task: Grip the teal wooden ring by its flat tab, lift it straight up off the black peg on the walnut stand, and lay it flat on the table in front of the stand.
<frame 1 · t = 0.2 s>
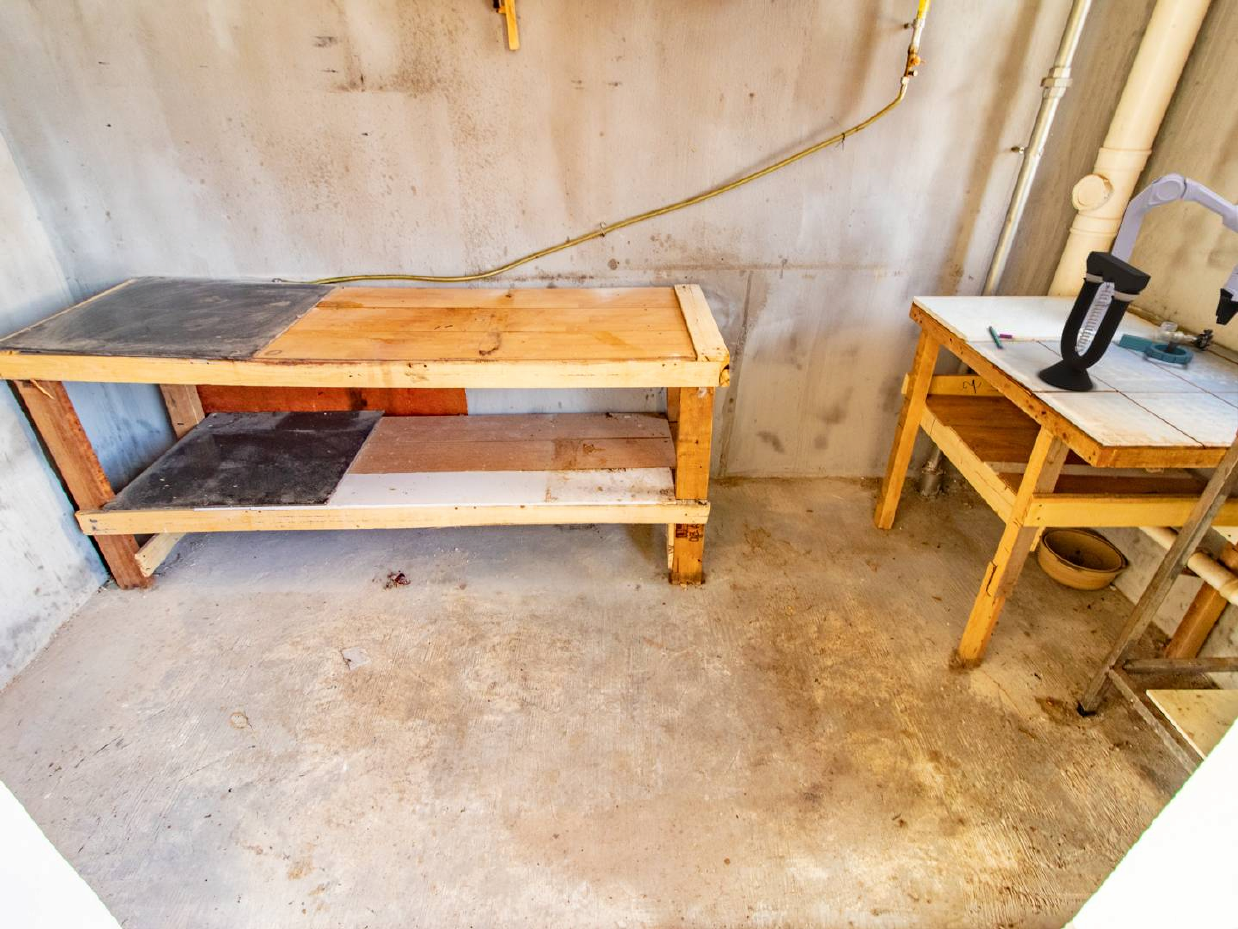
hand: (1220, 320, 178), 10 cm above the table, tool pointing down, fingers open, 7 cm apart
valve: (1175, 348, 187), on the table
ring stand: (1165, 359, 180), on the table
ring: (1167, 355, 179), point 1 cm above the table, touching ring stand
squeegee: (1003, 339, 190), on the table
spring support: (1063, 378, 168), on the table
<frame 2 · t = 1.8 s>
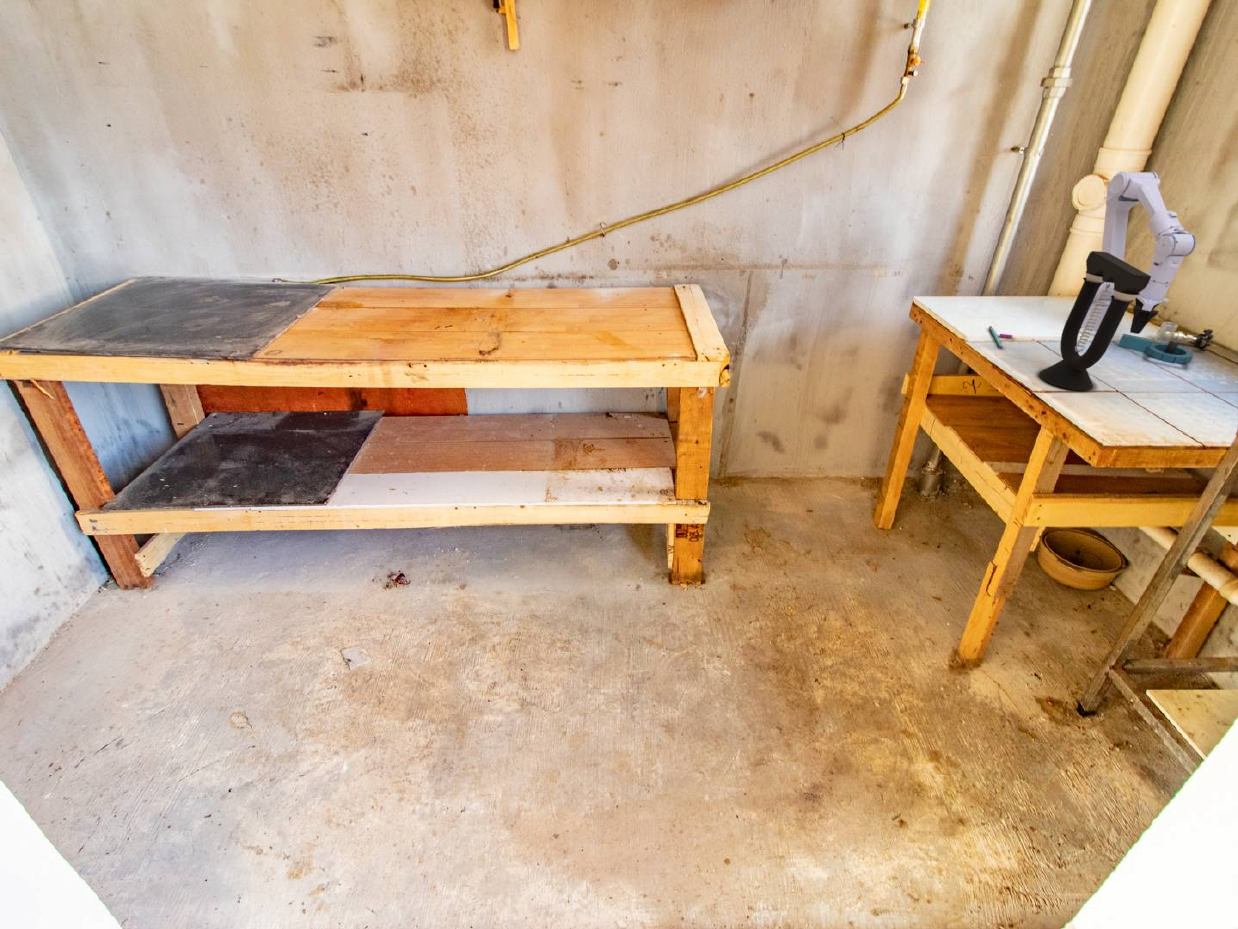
hand: (1135, 328, 181), 7 cm above the table, tool pointing down, fingers open, 7 cm apart
nothing on the table moved.
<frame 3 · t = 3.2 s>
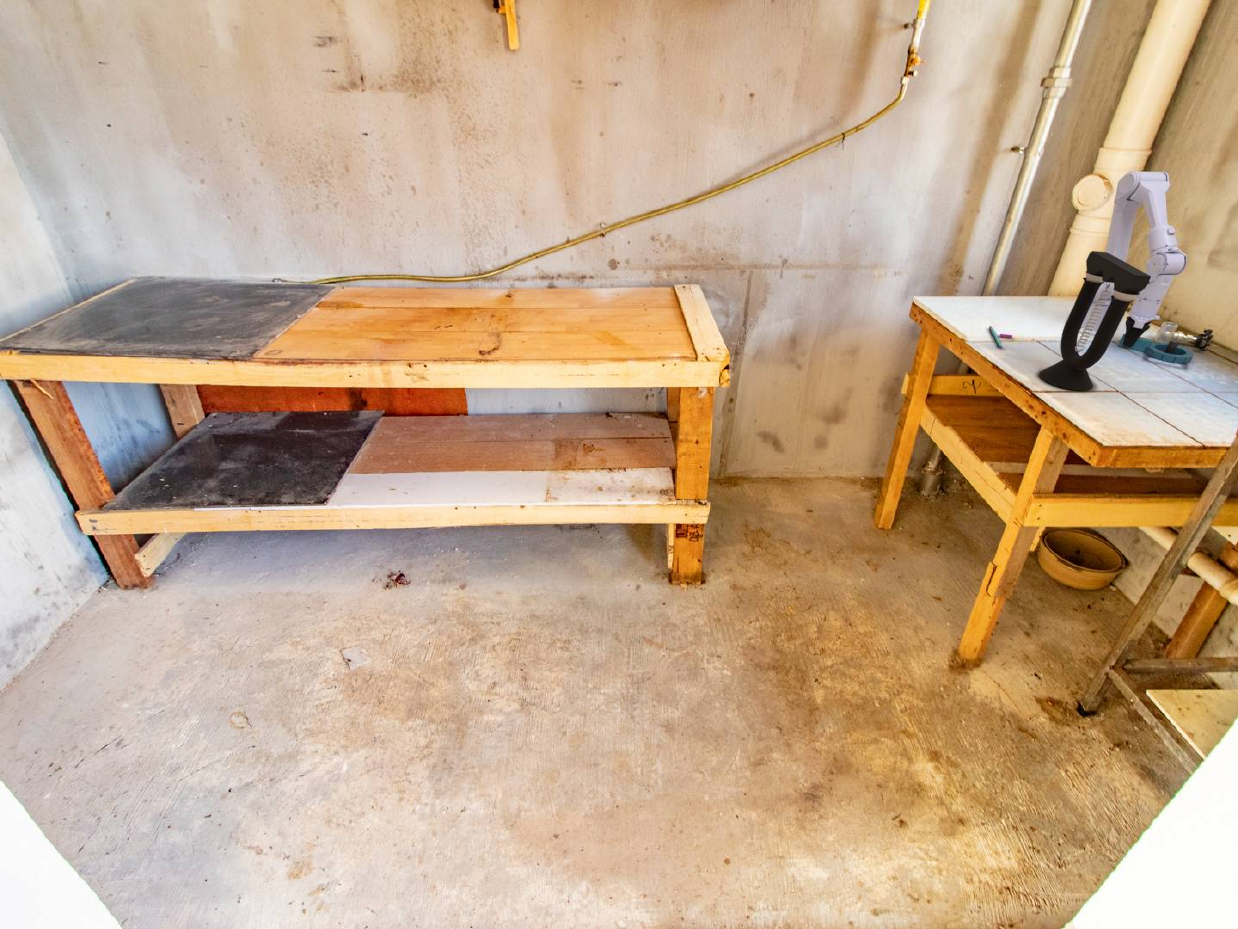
hand: (1127, 344, 183), 2 cm above the table, tool pointing down, fingers closed on ring, 2 cm apart
ring: (1167, 355, 179), point 1 cm above the table, touching gripper, ring stand
everything else where it was.
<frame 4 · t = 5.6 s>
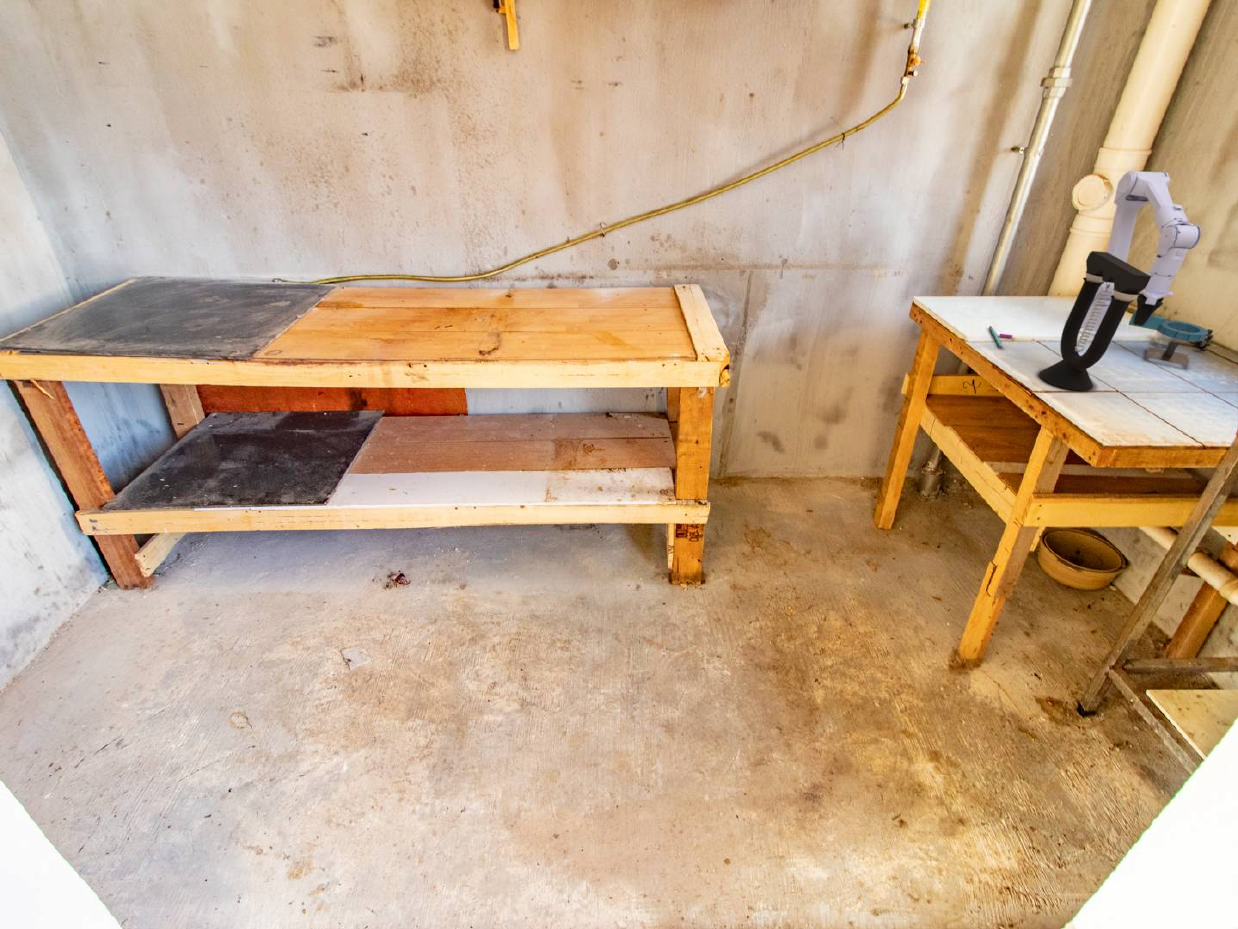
hand: (1138, 323, 176), 9 cm above the table, tool pointing down, fingers closed on ring
ring: (1180, 333, 172), point 9 cm above the table, touching gripper
everything else where it was.
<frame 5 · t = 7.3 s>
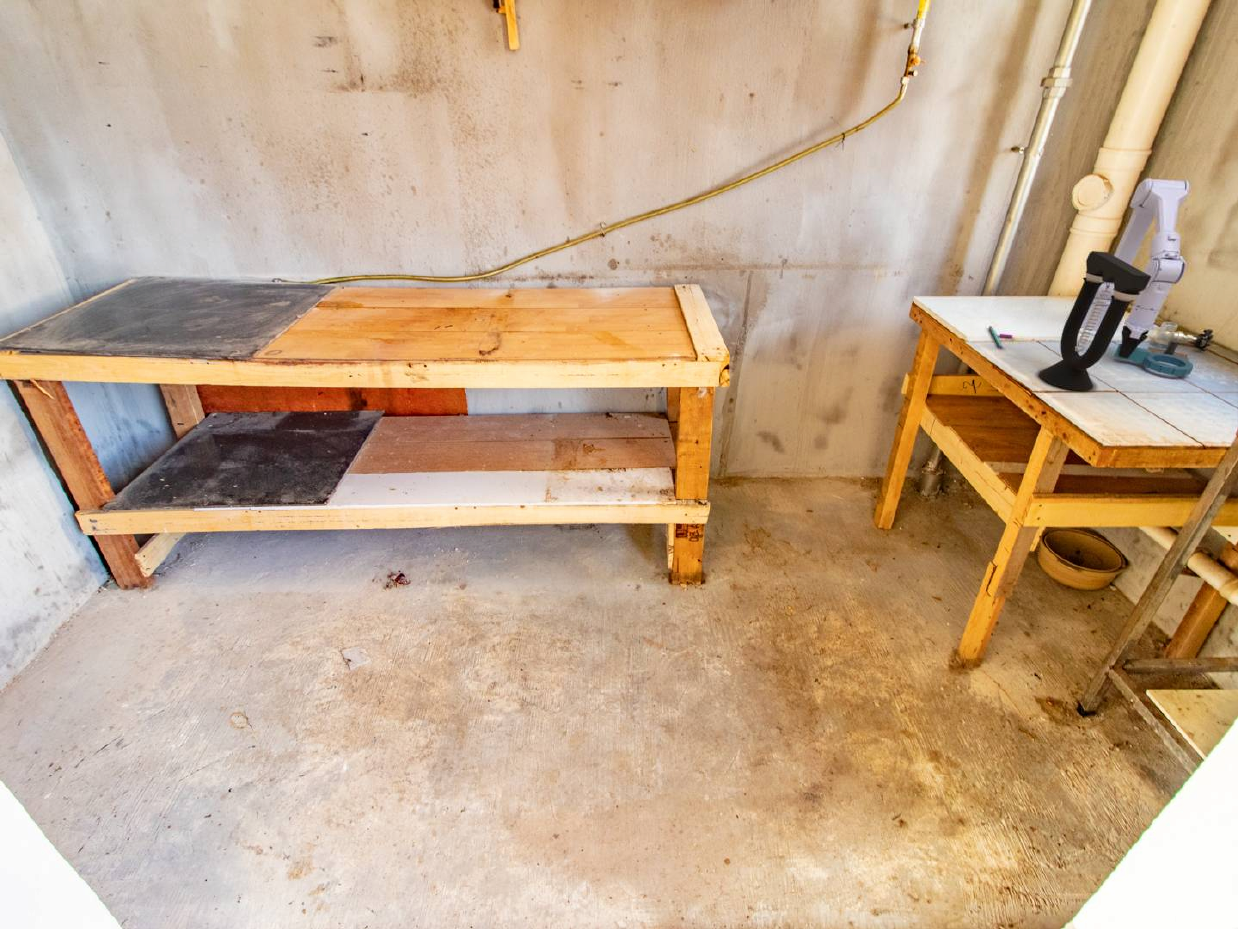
hand: (1123, 355, 174), 3 cm above the table, tool pointing down, fingers closed on ring, 2 cm apart
ring: (1165, 367, 170), point 2 cm above the table, touching gripper
everything else where it was.
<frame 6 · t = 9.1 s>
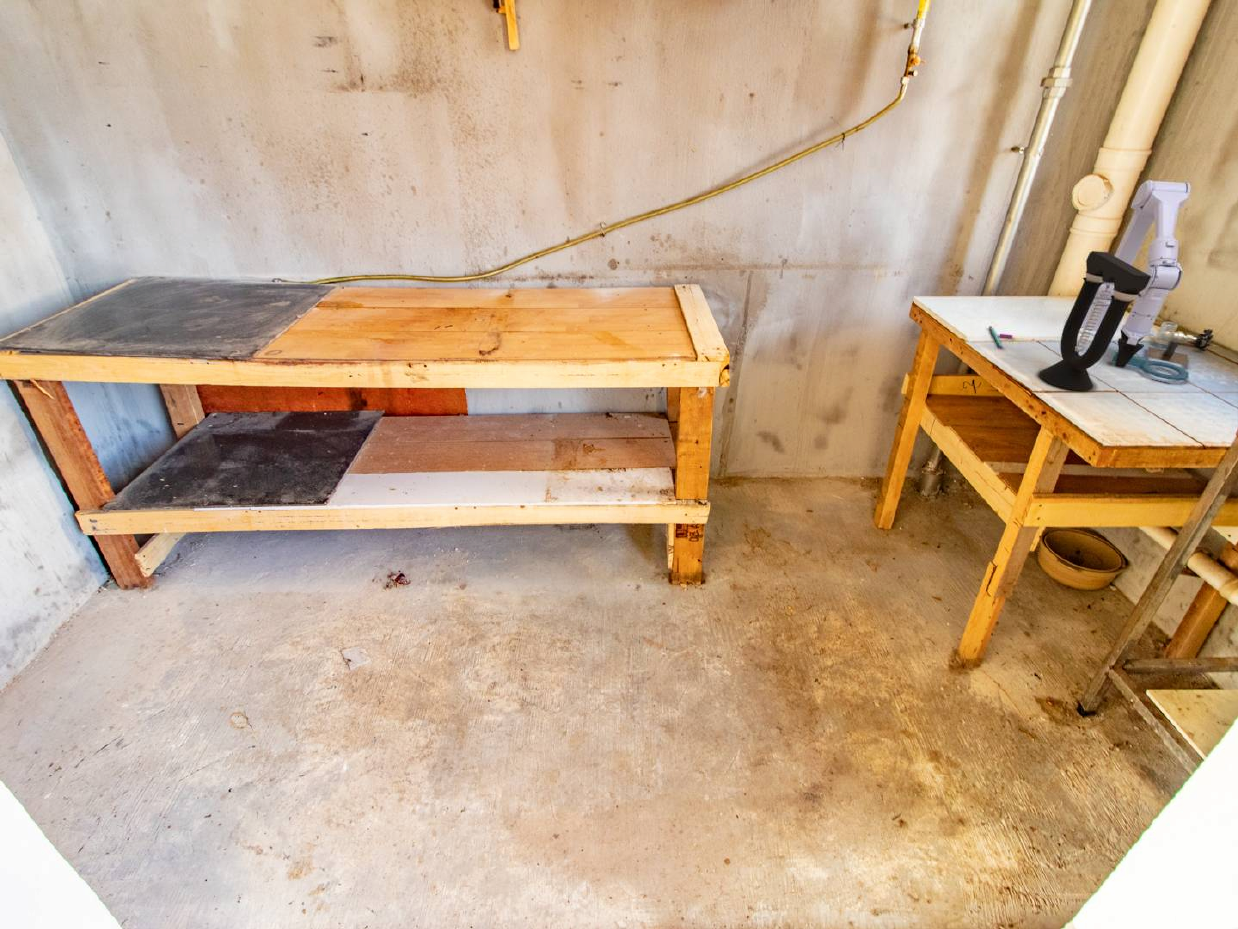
hand: (1120, 361, 175), 1 cm above the table, tool pointing down, fingers open, 7 cm apart
ring: (1161, 375, 171), on the table
everything else where it was.
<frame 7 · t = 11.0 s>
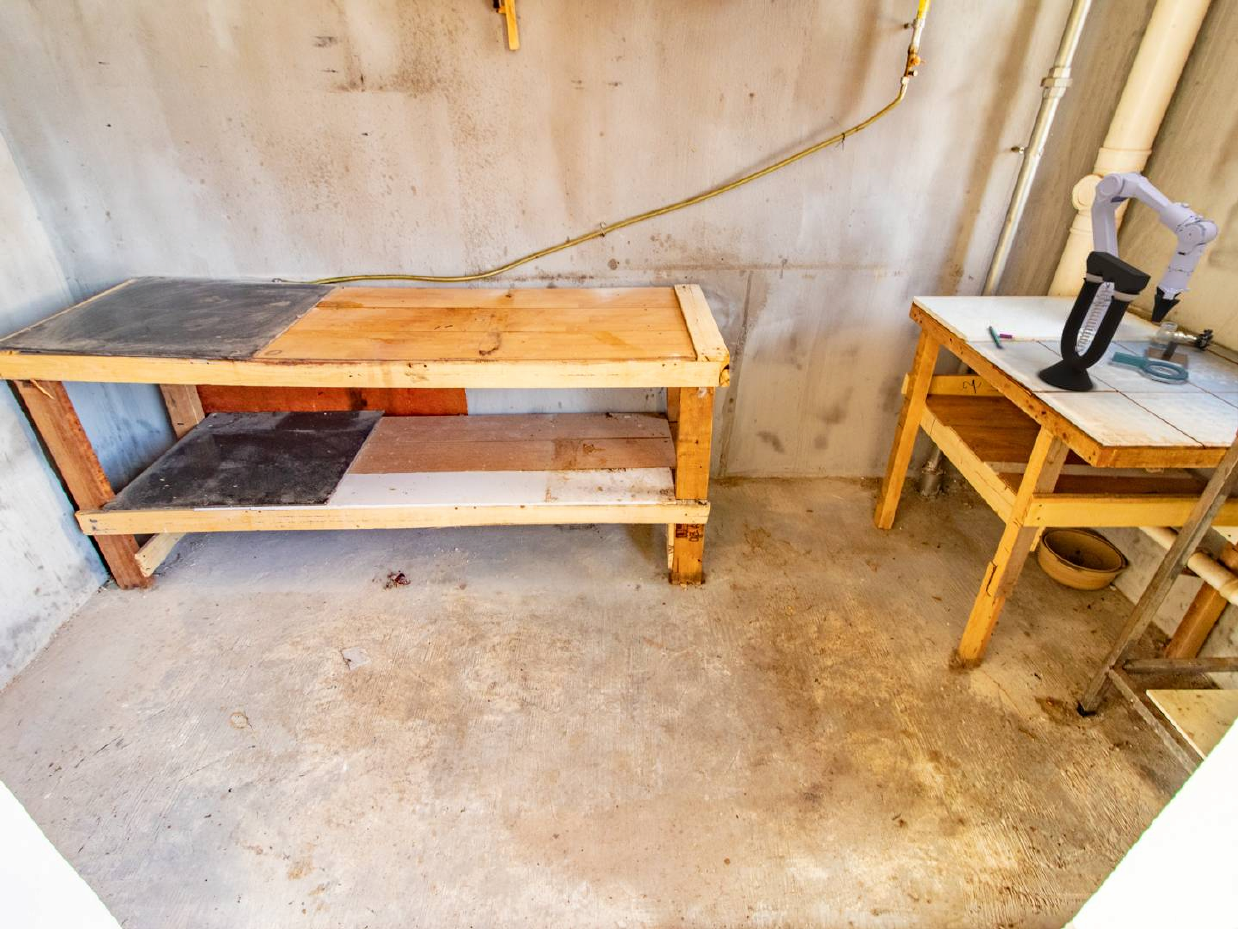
hand: (1155, 317, 180), 9 cm above the table, tool pointing down, fingers open, 7 cm apart
nothing on the table moved.
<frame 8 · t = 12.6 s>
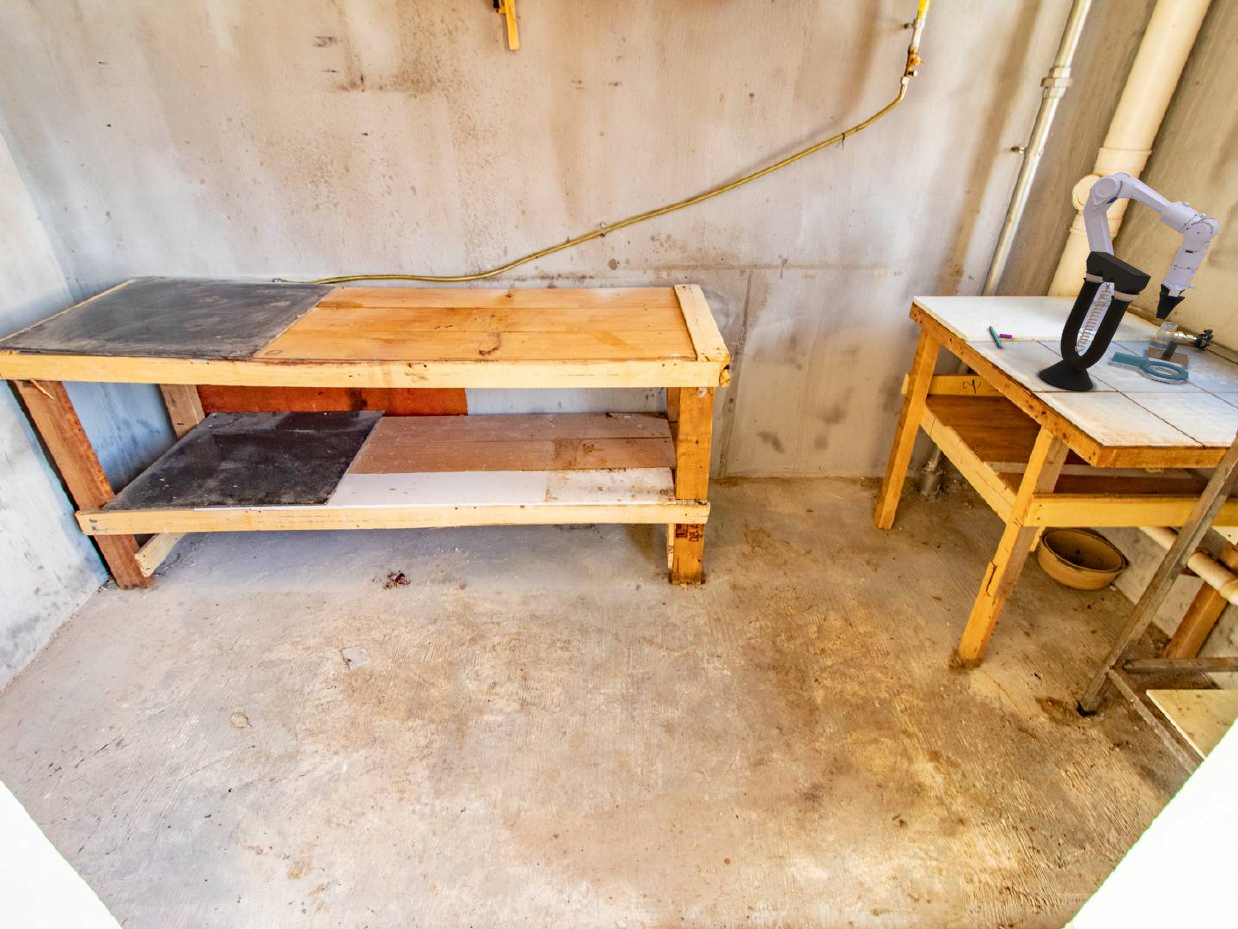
hand: (1160, 314, 182), 9 cm above the table, tool pointing down, fingers open, 7 cm apart
nothing on the table moved.
at the end: ring 0.0 cm from the target spot, on the table; ring tilted 0°; the gripper is holding nothing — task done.
